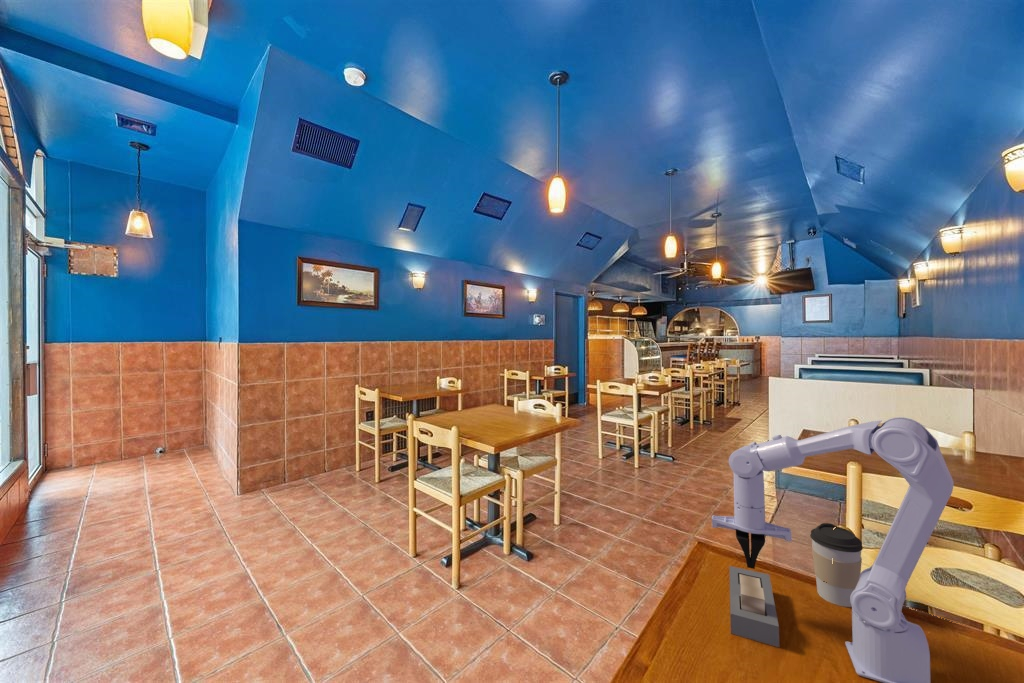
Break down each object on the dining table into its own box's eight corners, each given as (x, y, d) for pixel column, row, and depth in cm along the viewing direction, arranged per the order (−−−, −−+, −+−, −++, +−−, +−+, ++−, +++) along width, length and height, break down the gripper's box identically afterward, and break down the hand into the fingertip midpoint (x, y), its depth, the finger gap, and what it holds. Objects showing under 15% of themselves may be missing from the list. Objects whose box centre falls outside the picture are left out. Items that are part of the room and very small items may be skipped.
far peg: (760, 594, 89) (759, 578, 89) (761, 605, 85) (761, 588, 85) (739, 589, 91) (739, 574, 91) (740, 599, 87) (740, 583, 87)
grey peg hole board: (769, 591, 90) (769, 574, 90) (779, 647, 74) (778, 626, 74) (729, 582, 94) (729, 565, 94) (730, 633, 78) (730, 613, 78)
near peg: (763, 605, 81) (762, 588, 81) (765, 617, 77) (764, 599, 77) (740, 599, 83) (740, 582, 83) (741, 611, 79) (741, 593, 79)
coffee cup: (874, 612, 82) (873, 542, 82) (825, 608, 84) (824, 538, 84) (847, 586, 91) (845, 521, 91) (803, 582, 93) (801, 519, 93)
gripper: (787, 501, 84) (789, 564, 85) (712, 490, 92) (713, 548, 92) (792, 515, 78) (793, 582, 78) (710, 502, 85) (712, 564, 85)
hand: (750, 565), depth 85 cm, fingers closed
